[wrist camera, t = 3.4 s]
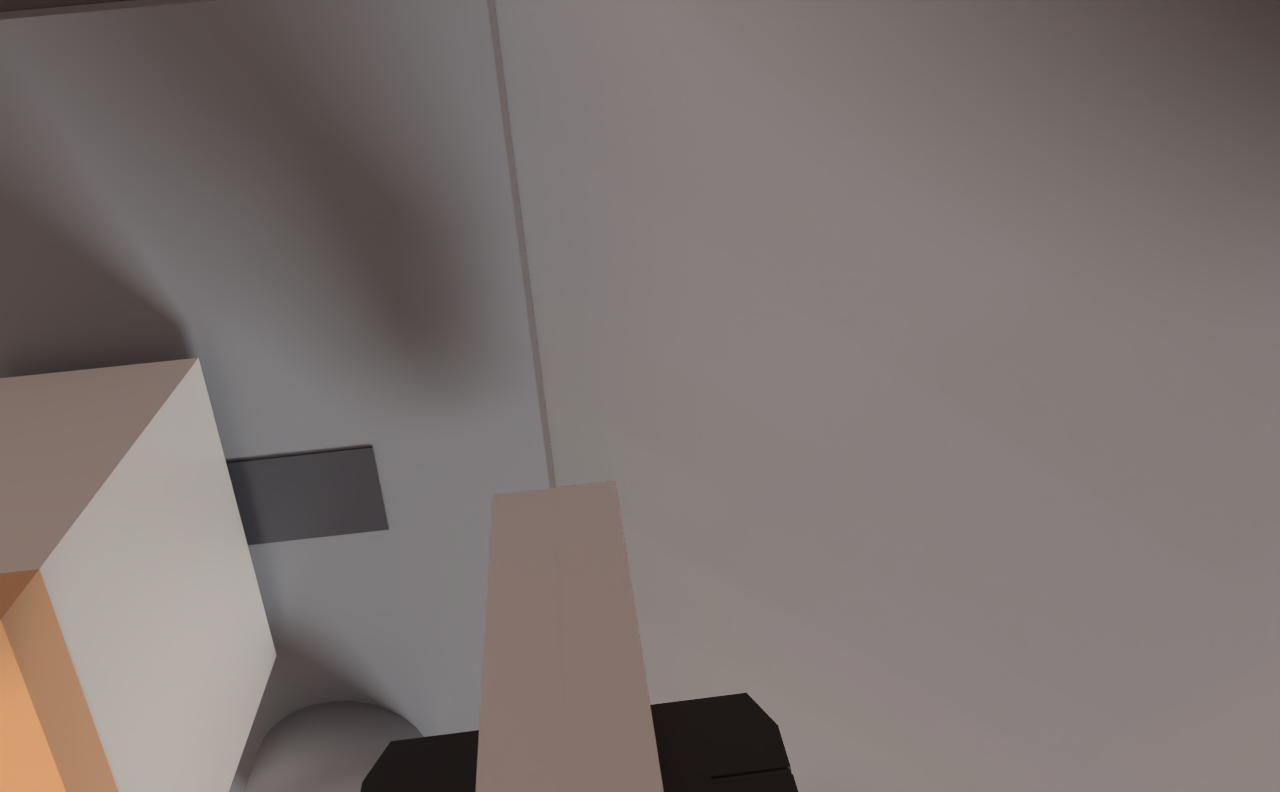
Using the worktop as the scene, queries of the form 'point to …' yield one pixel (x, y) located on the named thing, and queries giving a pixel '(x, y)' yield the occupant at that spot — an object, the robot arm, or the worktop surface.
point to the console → (299, 316)
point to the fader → (123, 586)
